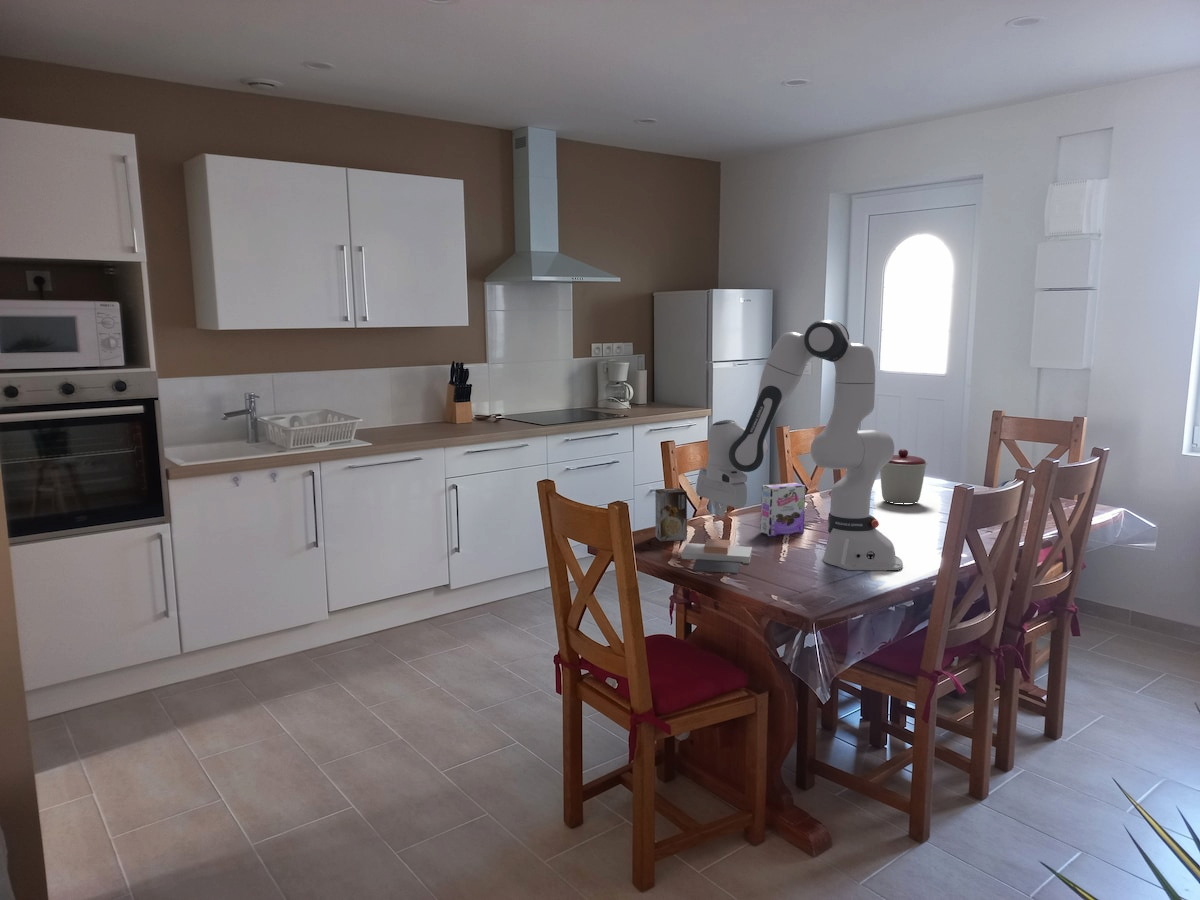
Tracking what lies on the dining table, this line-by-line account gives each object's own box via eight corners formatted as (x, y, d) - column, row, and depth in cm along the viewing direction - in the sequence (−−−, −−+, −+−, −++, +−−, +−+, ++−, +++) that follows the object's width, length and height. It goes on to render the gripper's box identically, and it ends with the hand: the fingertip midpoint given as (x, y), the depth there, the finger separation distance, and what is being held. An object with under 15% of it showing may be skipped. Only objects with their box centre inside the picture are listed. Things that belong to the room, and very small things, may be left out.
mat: (740, 563, 251) (740, 562, 251) (737, 574, 240) (737, 572, 240) (696, 560, 254) (696, 559, 254) (691, 570, 243) (691, 569, 243)
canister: (866, 499, 338) (869, 446, 335) (905, 496, 344) (908, 444, 341) (895, 509, 321) (898, 453, 318) (935, 506, 327) (938, 451, 323)
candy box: (769, 537, 281) (770, 487, 278) (759, 532, 286) (761, 484, 284) (804, 533, 286) (806, 484, 284) (794, 529, 291) (796, 481, 289)
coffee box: (681, 535, 283) (682, 487, 281) (687, 540, 277) (688, 491, 274) (654, 536, 281) (655, 488, 279) (659, 541, 275) (660, 492, 273)
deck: (751, 553, 261) (752, 547, 261) (749, 563, 251) (749, 556, 250) (686, 549, 266) (687, 543, 266) (681, 558, 255) (681, 552, 255)
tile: (730, 546, 262) (730, 540, 261) (727, 554, 253) (727, 547, 253) (707, 545, 263) (707, 538, 263) (703, 552, 255) (704, 546, 254)
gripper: (692, 467, 271) (690, 509, 273) (735, 479, 254) (733, 524, 256) (707, 465, 274) (706, 507, 277) (751, 477, 257) (749, 521, 260)
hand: (719, 515), depth 266 cm, fingers closed
